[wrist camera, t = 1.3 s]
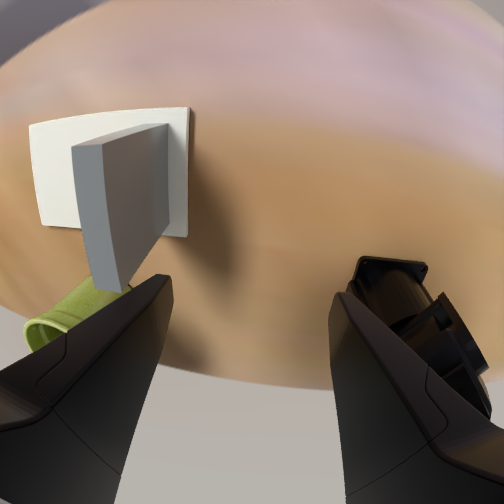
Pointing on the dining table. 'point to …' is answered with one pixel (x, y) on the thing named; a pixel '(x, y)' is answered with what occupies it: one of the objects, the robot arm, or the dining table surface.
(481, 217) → the dining table surface
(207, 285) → the dining table surface
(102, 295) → the plant pot
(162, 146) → the slate tile
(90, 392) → the robot arm
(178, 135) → the white rectangular board
